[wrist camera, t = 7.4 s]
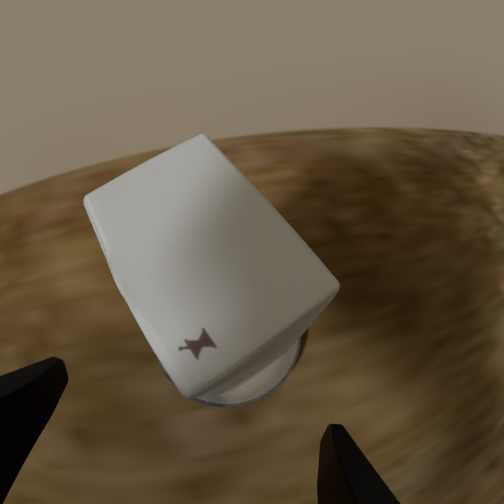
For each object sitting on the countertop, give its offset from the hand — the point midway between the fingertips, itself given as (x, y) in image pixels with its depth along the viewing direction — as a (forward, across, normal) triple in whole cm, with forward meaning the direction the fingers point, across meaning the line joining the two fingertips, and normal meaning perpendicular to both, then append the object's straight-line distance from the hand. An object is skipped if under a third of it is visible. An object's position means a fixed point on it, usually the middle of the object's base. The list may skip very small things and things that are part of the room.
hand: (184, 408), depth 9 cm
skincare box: (+9, 0, +3) cm, 9 cm away
